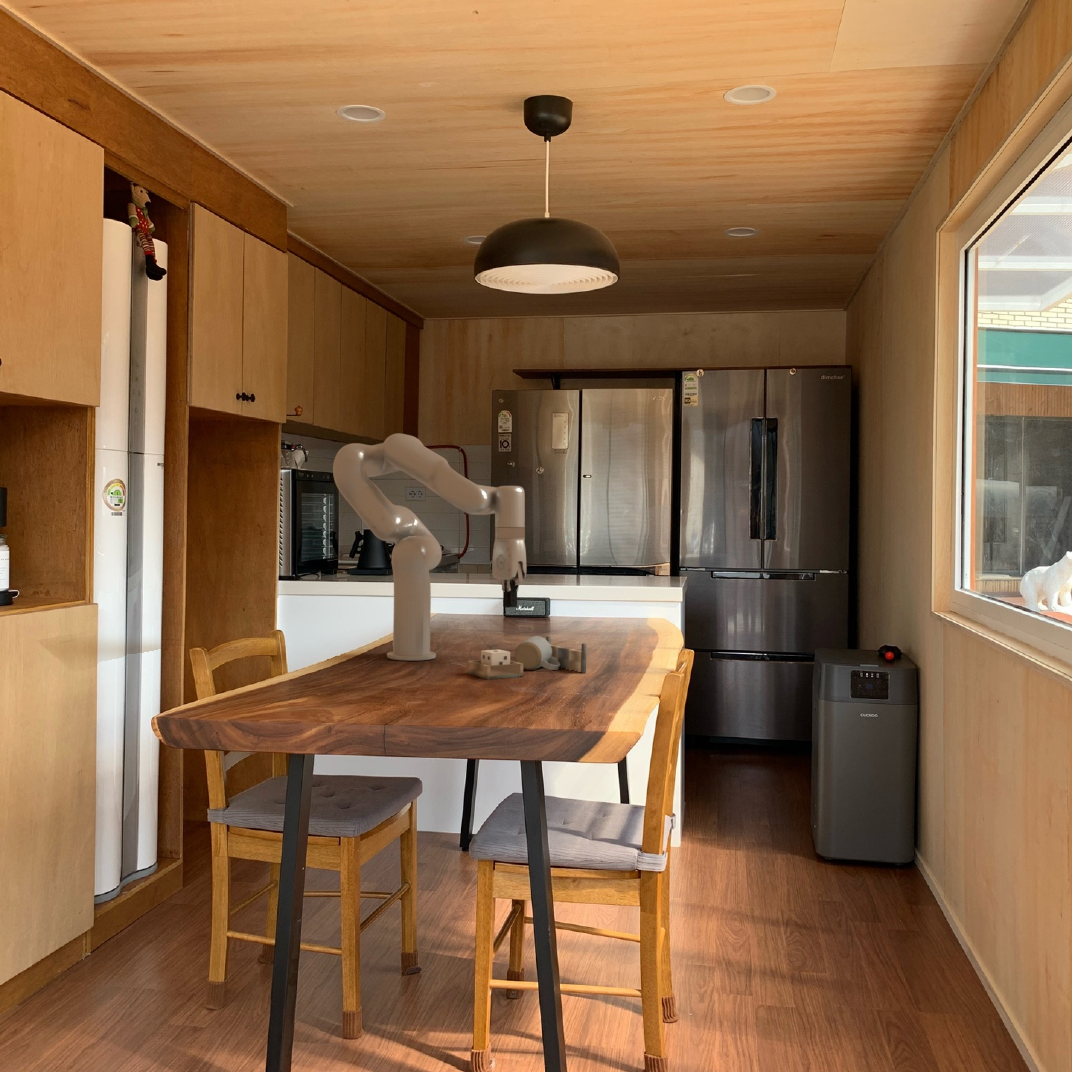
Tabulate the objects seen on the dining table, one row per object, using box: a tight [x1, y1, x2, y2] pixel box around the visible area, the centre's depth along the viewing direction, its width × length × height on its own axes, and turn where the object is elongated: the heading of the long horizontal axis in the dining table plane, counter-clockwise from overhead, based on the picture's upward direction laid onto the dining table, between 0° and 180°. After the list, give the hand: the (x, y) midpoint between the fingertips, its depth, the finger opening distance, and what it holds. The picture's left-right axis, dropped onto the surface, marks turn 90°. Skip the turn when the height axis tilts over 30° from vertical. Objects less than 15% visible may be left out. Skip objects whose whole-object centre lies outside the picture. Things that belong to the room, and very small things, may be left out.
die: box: [480, 648, 511, 666], centre depth 244 cm, size 5×5×5 cm
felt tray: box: [466, 659, 524, 680], centre depth 244 cm, size 10×10×3 cm
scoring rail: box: [545, 635, 588, 674], centre depth 257 cm, size 17×1×7 cm, turn 32°
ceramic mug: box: [514, 635, 560, 671], centre depth 255 cm, size 11×8×8 cm
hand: (510, 606), depth 264 cm, fingers closed
